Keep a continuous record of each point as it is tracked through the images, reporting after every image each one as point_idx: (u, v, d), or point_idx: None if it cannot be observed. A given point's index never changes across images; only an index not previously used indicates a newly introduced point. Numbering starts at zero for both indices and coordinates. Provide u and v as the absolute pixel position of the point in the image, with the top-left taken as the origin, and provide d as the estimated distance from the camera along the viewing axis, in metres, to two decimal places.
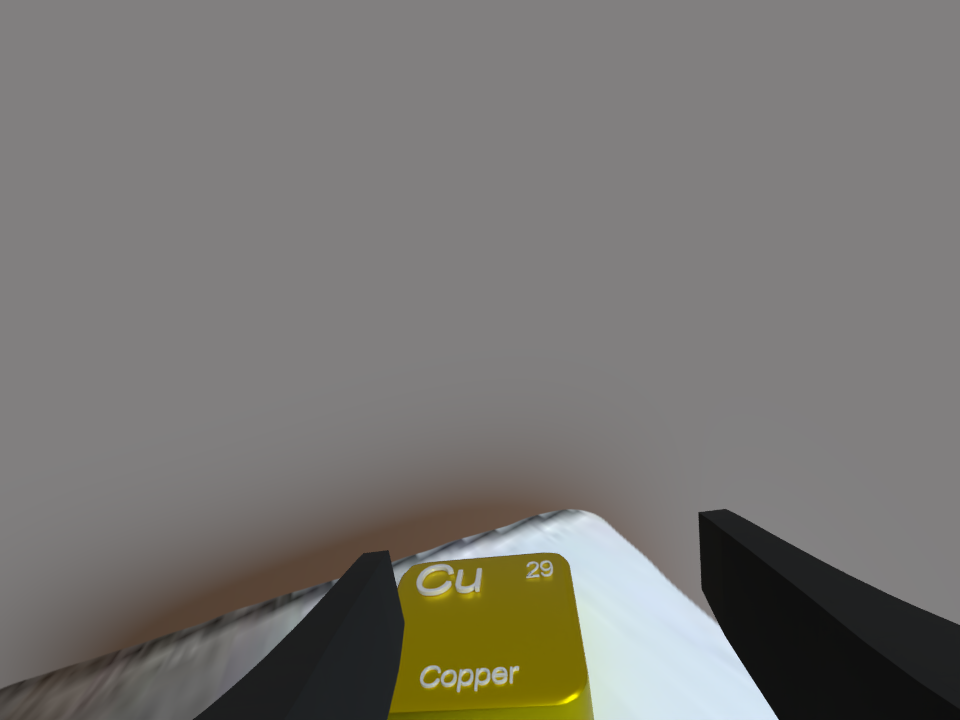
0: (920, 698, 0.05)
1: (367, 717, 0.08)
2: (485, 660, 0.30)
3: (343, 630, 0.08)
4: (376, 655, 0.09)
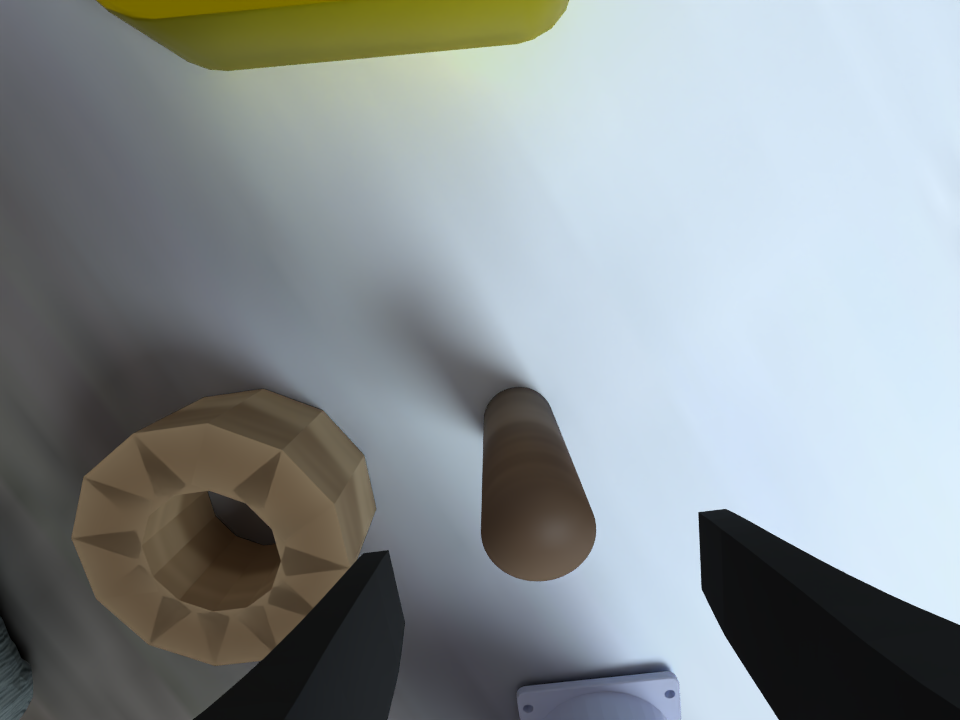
0: (920, 698, 0.05)
1: (367, 717, 0.08)
2: None
3: (343, 630, 0.08)
4: (376, 655, 0.09)
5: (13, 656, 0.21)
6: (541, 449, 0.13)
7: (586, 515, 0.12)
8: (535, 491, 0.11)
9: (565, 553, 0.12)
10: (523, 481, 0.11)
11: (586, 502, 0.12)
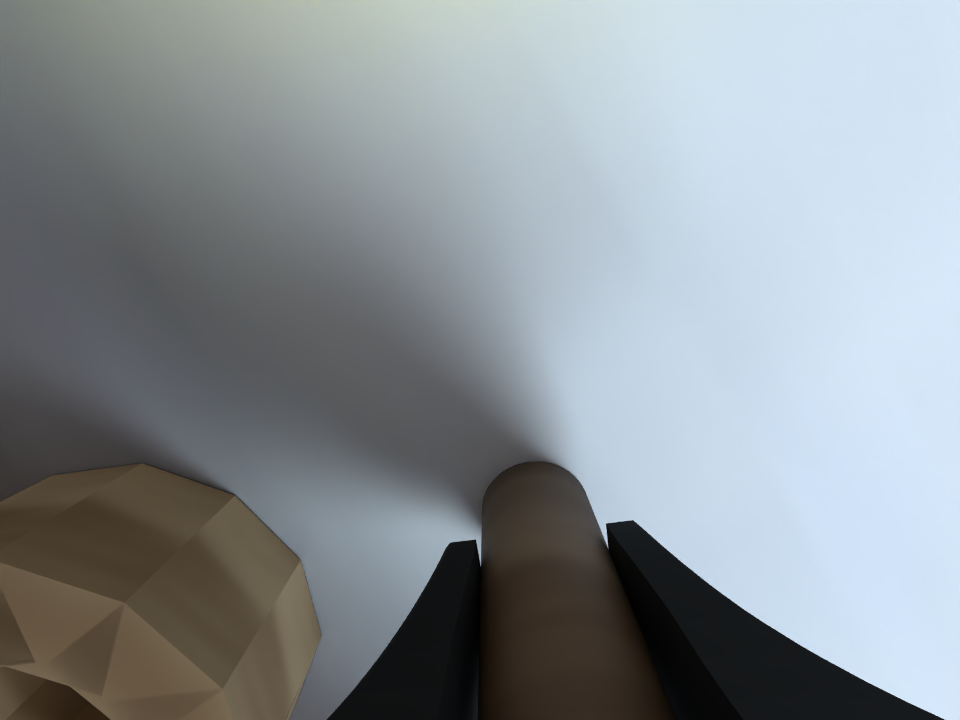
0: (731, 716, 0.05)
1: (477, 706, 0.08)
2: None
3: (459, 617, 0.08)
4: (478, 644, 0.09)
5: None
6: (599, 661, 0.06)
7: None
8: None
9: None
10: None
11: None
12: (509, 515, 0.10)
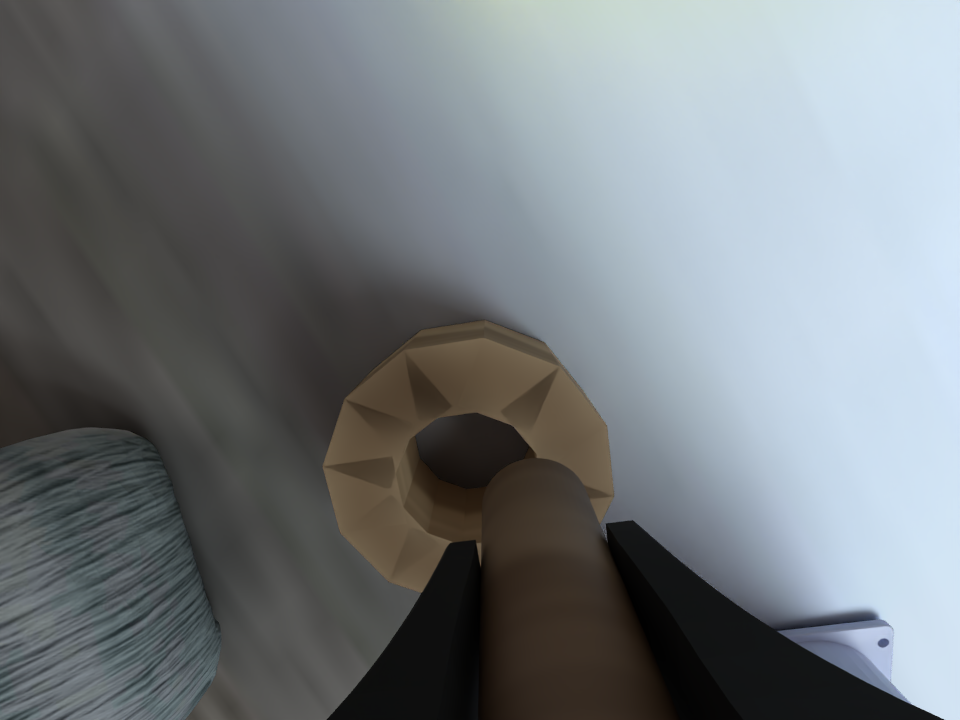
0: (731, 716, 0.05)
1: (477, 706, 0.08)
2: None
3: (459, 617, 0.08)
4: (478, 644, 0.09)
5: (210, 605, 0.20)
6: (600, 654, 0.06)
7: None
8: None
9: None
10: None
11: None
12: (509, 510, 0.10)
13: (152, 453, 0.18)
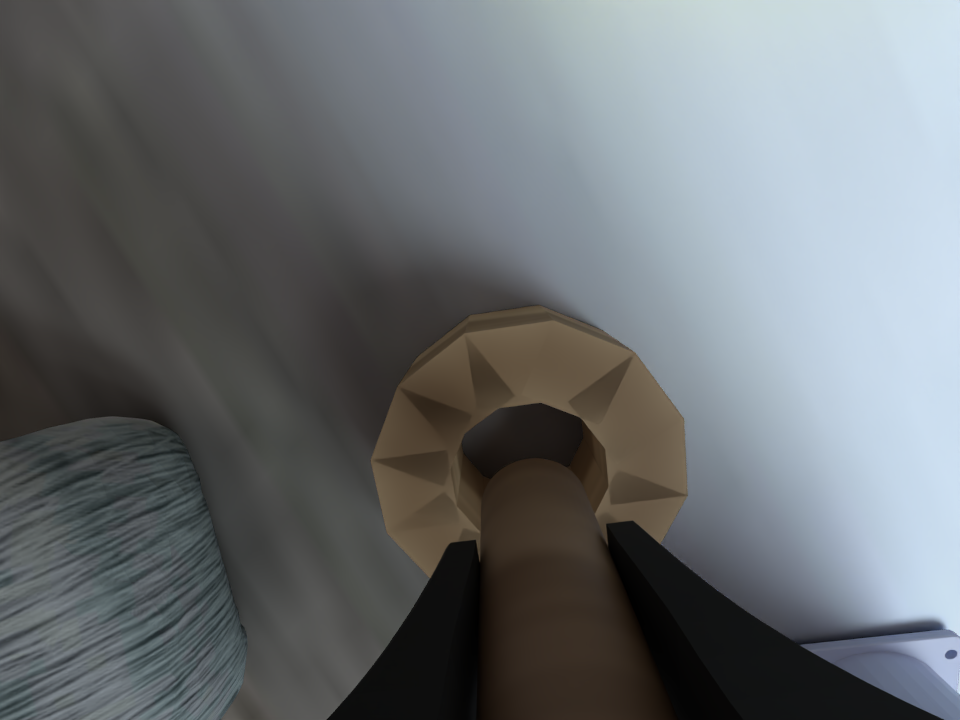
0: (731, 715, 0.05)
1: None
2: None
3: (459, 617, 0.08)
4: None
5: None
6: (598, 654, 0.06)
7: None
8: None
9: None
10: None
11: None
12: (508, 511, 0.10)
13: (179, 445, 0.17)
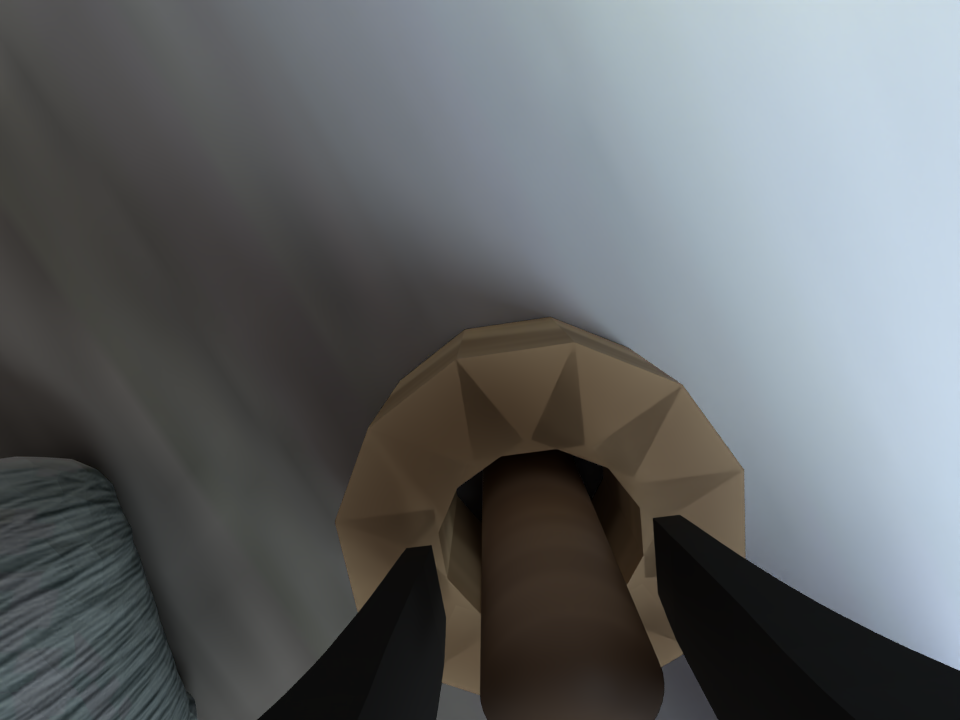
0: (827, 707, 0.05)
1: (421, 711, 0.08)
2: None
3: (400, 623, 0.08)
4: (426, 649, 0.09)
5: (183, 685, 0.16)
6: (570, 542, 0.09)
7: (649, 668, 0.07)
8: (568, 633, 0.07)
9: None
10: (548, 616, 0.07)
11: (650, 648, 0.07)
12: (505, 461, 0.13)
13: (103, 492, 0.14)
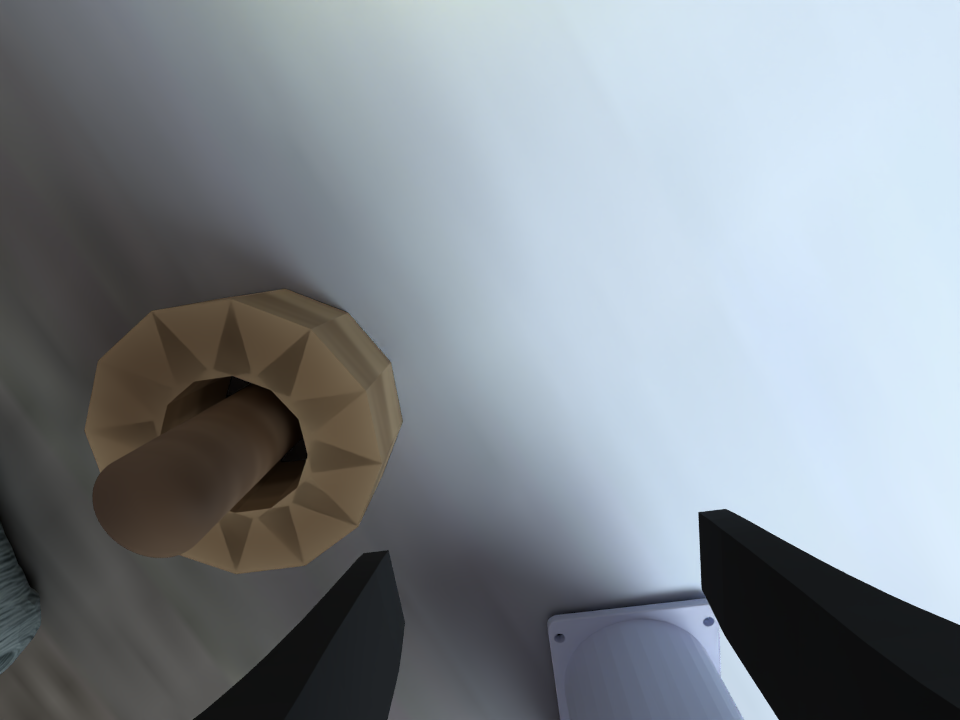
0: (920, 698, 0.05)
1: (367, 717, 0.08)
2: None
3: (343, 630, 0.08)
4: (376, 655, 0.09)
5: (20, 578, 0.20)
6: (195, 428, 0.13)
7: (193, 491, 0.12)
8: (138, 467, 0.11)
9: (181, 529, 0.12)
10: (125, 456, 0.11)
11: (192, 478, 0.12)
12: None
13: None
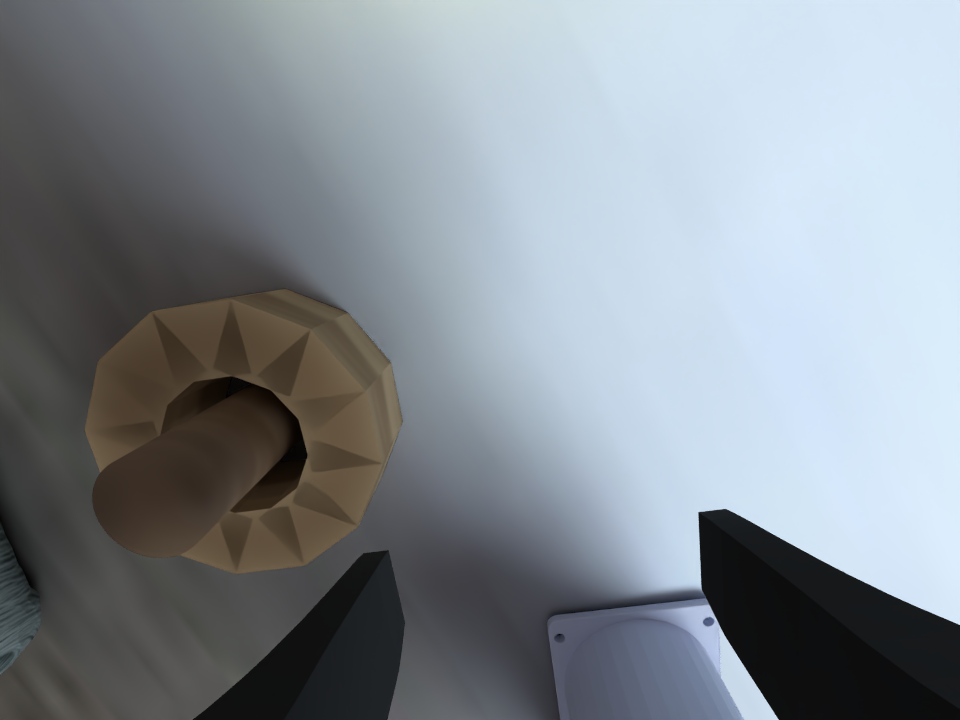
0: (920, 698, 0.05)
1: (367, 717, 0.08)
2: None
3: (343, 630, 0.08)
4: (376, 655, 0.09)
5: (20, 578, 0.20)
6: (195, 428, 0.13)
7: (193, 491, 0.12)
8: (138, 467, 0.11)
9: (181, 529, 0.12)
10: (125, 456, 0.11)
11: (191, 478, 0.12)
12: None
13: None
